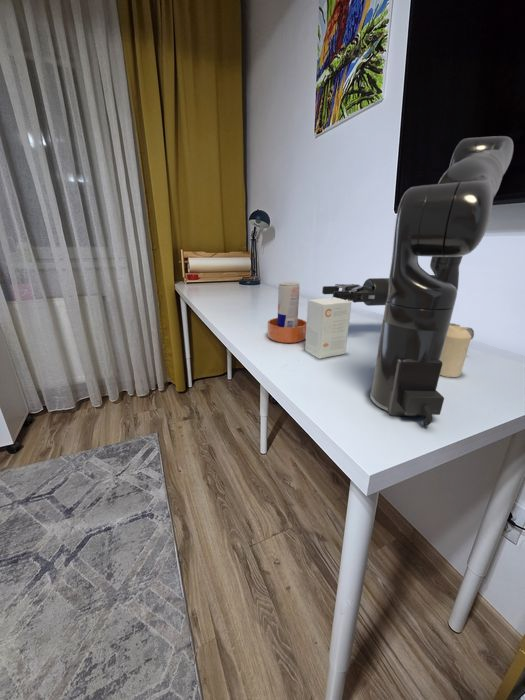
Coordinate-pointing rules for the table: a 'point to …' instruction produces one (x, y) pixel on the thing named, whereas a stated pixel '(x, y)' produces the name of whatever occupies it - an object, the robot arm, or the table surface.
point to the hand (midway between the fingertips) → (327, 292)
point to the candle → (454, 351)
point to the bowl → (287, 332)
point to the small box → (327, 326)
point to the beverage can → (288, 304)
